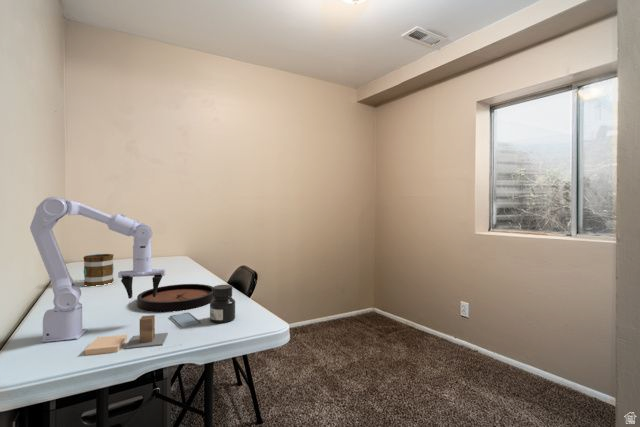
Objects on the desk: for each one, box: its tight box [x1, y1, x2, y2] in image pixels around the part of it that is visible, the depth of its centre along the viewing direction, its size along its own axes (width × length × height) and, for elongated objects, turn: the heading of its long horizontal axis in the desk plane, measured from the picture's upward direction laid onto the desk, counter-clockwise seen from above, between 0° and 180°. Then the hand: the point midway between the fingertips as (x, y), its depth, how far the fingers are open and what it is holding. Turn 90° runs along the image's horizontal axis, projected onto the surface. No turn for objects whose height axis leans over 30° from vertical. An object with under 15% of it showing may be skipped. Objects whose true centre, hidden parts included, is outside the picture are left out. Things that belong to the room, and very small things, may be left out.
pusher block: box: [139, 314, 156, 343], centre depth 100 cm, size 3×3×7 cm
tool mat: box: [124, 332, 169, 350], centre depth 101 cm, size 10×9×1 cm
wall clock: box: [136, 283, 214, 313], centre depth 144 cm, size 31×4×31 cm
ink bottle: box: [209, 284, 236, 324], centre depth 120 cm, size 10×9×12 cm
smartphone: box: [169, 312, 203, 330], centre depth 119 cm, size 7×1×15 cm
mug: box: [83, 253, 115, 287], centre depth 176 cm, size 20×14×15 cm
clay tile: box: [84, 334, 128, 356], centre depth 97 cm, size 8×2×9 cm
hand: (142, 296), depth 116 cm, fingers open, 7 cm apart
